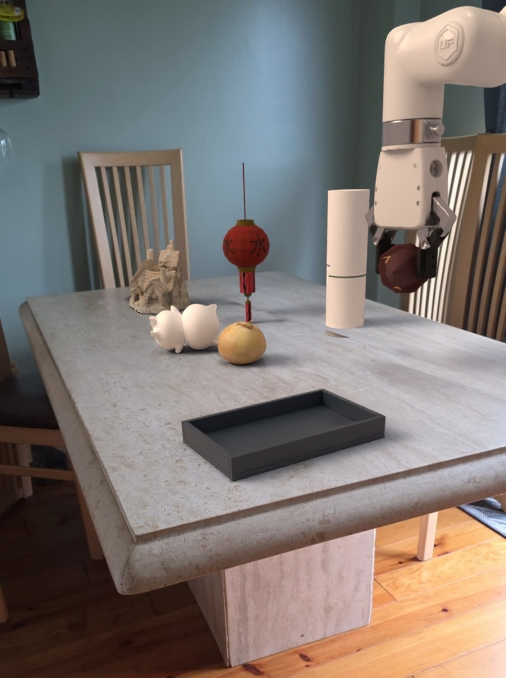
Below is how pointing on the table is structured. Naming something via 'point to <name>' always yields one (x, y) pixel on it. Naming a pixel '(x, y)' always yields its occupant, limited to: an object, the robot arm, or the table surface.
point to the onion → (241, 343)
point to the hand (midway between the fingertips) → (404, 274)
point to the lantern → (246, 253)
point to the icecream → (400, 268)
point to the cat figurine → (186, 327)
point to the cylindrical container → (346, 259)
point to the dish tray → (281, 432)
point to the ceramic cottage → (159, 283)
